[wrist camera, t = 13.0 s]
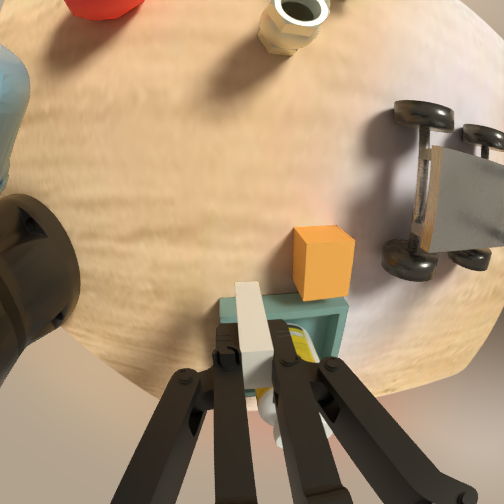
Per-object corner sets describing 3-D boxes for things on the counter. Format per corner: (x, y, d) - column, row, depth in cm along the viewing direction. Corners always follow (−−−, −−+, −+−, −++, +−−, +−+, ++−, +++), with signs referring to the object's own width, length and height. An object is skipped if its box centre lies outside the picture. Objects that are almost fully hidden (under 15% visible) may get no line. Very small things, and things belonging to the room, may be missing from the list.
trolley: (371, 257, 25) (492, 382, 9) (382, 102, 19) (563, 102, 3) (466, 249, 27) (563, 322, 10) (480, 133, 21) (600, 164, 5)
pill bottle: (238, 333, 26) (249, 434, 16) (299, 310, 26) (339, 404, 15) (262, 371, 29) (278, 460, 18) (315, 351, 29) (349, 436, 18)
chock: (292, 278, 25) (303, 301, 22) (293, 226, 23) (306, 243, 20) (331, 274, 26) (347, 295, 22) (336, 224, 24) (355, 240, 20)
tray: (227, 378, 30) (229, 398, 27) (219, 298, 25) (219, 317, 23) (322, 368, 31) (329, 385, 28) (337, 289, 26) (348, 305, 24)
